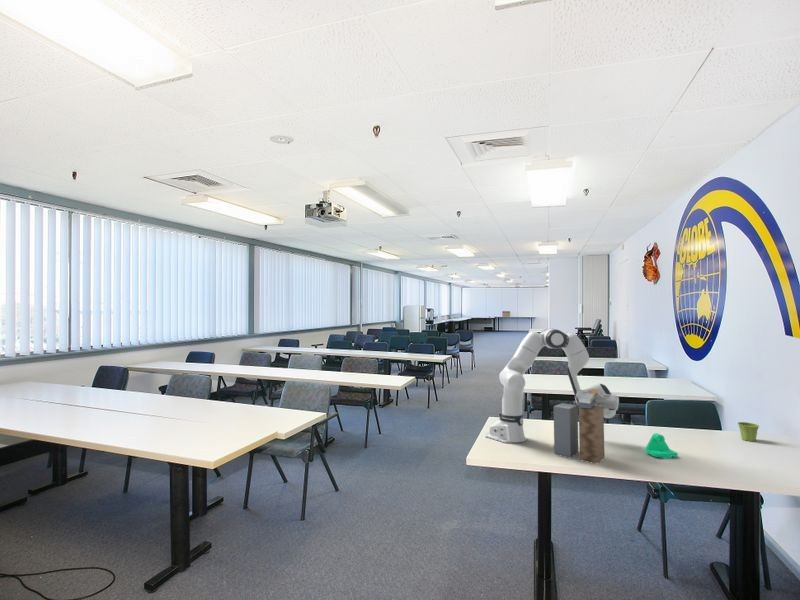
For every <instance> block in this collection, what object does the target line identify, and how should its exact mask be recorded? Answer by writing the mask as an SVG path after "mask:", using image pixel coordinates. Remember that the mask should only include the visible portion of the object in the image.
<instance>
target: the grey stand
mask: <svg viewBox="0 0 800 600" xmlns="http://www.w3.org/2000/svg"><path fill="white" fill-rule="evenodd" d="M553 449H554V451H553V453H554V455H555V454H556V456H560V455H561V457H564V456H566V457H565V458H569V457H571V458H573V457H574V456H575V455H577V454H578V453H580V450H579V408H578V404H573V403H566V402H561V403H558V404H555V405H554V406H553ZM576 453H577V454H576ZM573 455H574V456H573Z"/></svg>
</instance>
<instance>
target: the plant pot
mask: <svg viewBox="0 0 800 600" xmlns="http://www.w3.org/2000/svg"><path fill="white" fill-rule="evenodd" d="M737 426H738V427H739V431H740V438H741V439H742V441H748V442H752V441H753V442H756V441H757V436H758V430H759V428H760V425H759V424H758V423H757V424H756V423H753V422H745V421H739V422H737Z"/></svg>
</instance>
